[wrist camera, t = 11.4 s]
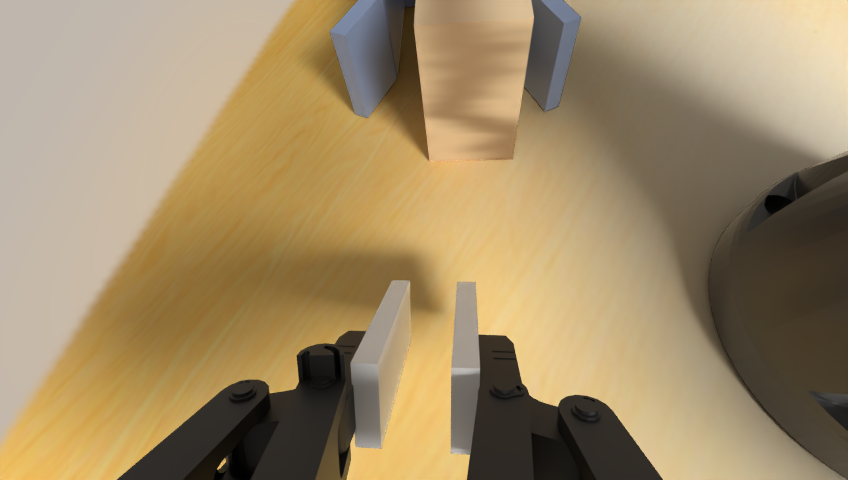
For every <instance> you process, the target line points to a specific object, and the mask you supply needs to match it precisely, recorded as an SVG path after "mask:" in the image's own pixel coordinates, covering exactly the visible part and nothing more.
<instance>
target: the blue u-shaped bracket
mask: <svg viewBox="0 0 848 480" xmlns="http://www.w3.org/2000/svg"><path fill="white" fill-rule="evenodd" d="M415 1H416V0H358V1H357V2H356V3H355V5H354V6H353V7H352V8H351V9H350V10H349V11H348V12H347V13H346V14H345V15H344V17H343V18H342V19H341V20H340V21H339V22H338V23H337V24H336V25H335V26H334V27H333V29H332V30H331V31H330V34H331V37H332V41H333V44H334V47H335V50H336V54H337V57H338V60H339V63H340V67H341V70H342V73H343V76H344V80H345V83H346V86H347V89H348V93H349V96H350V99H351V102H352V106H353V109H354V112H355V114H357V115H360V116H363V117H366V118H368V117H369V116H370V115H371V113H372V112H373V111H374V109H375V108H376V107H377V105H378V104H379V103H380V101H381V100H382V99H383V97H384V96H385V94H386V93H387V92H388V90H389V89H390V88H391V86H392V85H393V84H394V82H395V81H396V80H397V78H398V69H399V59H400V49H401V39H402V29H403V19H404V9H405V7H410V6H415ZM531 1H532V8H533V14H534V22H533V28H532V35H531V42H530V48H529V55H528V61H527V68H526V75H525V81H524V87H525V88H526V89H527V91H528V92H529V93H530V94H531V96H532V97H533V98H534V99H535V100H536V102H537V103H538V104H539V105H540V107H541V108H542V109H543V110H544V111H548V110H550V109H553V108H556V107H558V106H559V102H560V98H561V95H562V91H563V87H564V83H565V79H566V75H567V71H568V67H569V63H570V59H571V55H572V52H573V48H574V44H575V40H576V36H577V32H578V28H579V24H580V20H581V16H579V15H578V14H577V13H576V12H575V11H574V10H573V9H572V8H571V7H570V6H569V5H568V4H567V3H566V2H565V1H563V0H531Z"/></svg>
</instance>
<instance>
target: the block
mask: <svg viewBox="0 0 848 480" xmlns="http://www.w3.org/2000/svg"><path fill="white" fill-rule="evenodd" d="M533 22H534V14H533V8H532V1H531V0H416V1H415V15H414V31H415V40H416V49H417V57H418V66H419V75H420V83H421V92H422V100H423V109H424V118H425V126H426V135H427V144H428V152H429V161H430V162H439V161H471V160H503V159H513V154H514V147H515V140H516V134H517V127H518V121H519V114H520V107H521V101H522V94H523V88H524V81H525V75H526V68H527V61H528V55H529V48H530V42H531V35H532V28H533Z"/></svg>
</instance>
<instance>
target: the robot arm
mask: <svg viewBox="0 0 848 480" xmlns="http://www.w3.org/2000/svg"><path fill="white" fill-rule="evenodd" d="M709 295H710V303H711V308H712V313H713V317H714V321H715V324H716V327H717V330H718V333H719V336H720V338H721V341H722V343H723V345H724V347H725V350H726V352H727V354H728V356H729V357H730V359H731V361H732V363H733V365H734V366H735V368H736V370H737V372H738V373H739V375H740V376H741V378H742V379H743V381H744V382H745V384H746V385H747V387H748V388H749V389H750V391H751V392H752V393H753V395H754V396H755V397H756V399H757V400H758V401H759V402H760V403H761V405H762V406H763V407H764V408H765V409H766V410H767V412H768V413H769V414H770V415H771V416H772V417H773V418H774V419H775V420H776V421H777V422H778V423H779V425H780V426H781V427H782V428H783V429H785V430H786V431H787V432H788V433H789V434H790V435H791V436H792V437H793V438H794V439H795V440H796V441H797V442H799V443H800V444H801V445H802V446H803V447H804V448H806V449H807V450H808V451H809V452H810V453H812V454H813V455H814V456H815V457H817V458H818V459H819V460H821V461H822V462H823V463H824V464H826V465H827V466H829V467H830V468H832V469H833V470H834V471H836V472H837V473H839V474H840V475H842V476H843V477H845V478H846V479H848V151H847V152H844V153H842V154H839V155H837V156H835V157H832V158H830V159H827V160H825V161H823V162H820V163H818V164H816V165H813V166H811V167H808V168H806V169H804V170H801V171H799V172H796V173H794V174H792V175H790V176H788V177H786V178H784V179H782V180H781V181H779V182H777V183H776V184H774V185H773V186H771V187H770V188H768V189H767V190H766V191H764V192H763V193H762V194H760V195H759V196H758V197H757V198H756V199H755V200H754V201H753V202H752V203H751V204H750V205H749V206H747V207H746V208H745V209H744V210H743V211H742V212H741V213H740V214H739V215H738V216H737V217H736V218H735V219H734V220H733V221H732V222H731V223H730V224H729V225H728V226H727V228H726V229H725V231H724V232H723V233H722V235H721V237H720V239H719V241H718V243H717V245H716V247H715V250H714V253H713V256H712V260H711V265H710V272H709ZM410 341H411V306H410V281H408V280H392V282H391V284H390V286H389V288H388V290H387V292H386V294H385V296H384V298H383V300H382V302H381V304H380V306H379V307H378V309H377V311H376V313H375V315H374V317H373V319H372V321H371V323H370V325H369V327H368V329H367V331H348V332H346V333H345V334H343V335H342V336H340V337H339V338H338V340H337V342H336V343H335V344H326V343H325V344H316V345H313V346H310V347H307V348H305V349H303V350H302V351H300V352H299V353H298V355H297V364H298V374H299V383H298V385H297V387H296V389H294V390H289V391H284V392H277V393H271V394H270V393H269V386H268V385H267V384H266V383H265V382H263V381H260V380H245V381H244V380H243V381H239V382H237V383H235V384H232V385H230V386H228V387H227V388H225V389H224V390H222V391H221V392H220V393H219V394H217V395H216V396H215V397H214V398H213V399H211V400H210V401H209V402H208V403H207V404H206V405H204V406H203V407H202V408H201V409H200V410H198V411H197V412H196V413H195V414H194V415H193V416H191V417H190V418H189V419H188V420H187V421H186V422H184V423H183V424H182V425H181V426H180V427H178V428H177V429H176V430H175V431H174V432H173V433H171V434H170V435H169V436H168V437H167V438H165V439H164V440H163V441H162V442H161V443H160V444H158V445H157V446H156V447H155V448H154V449H153V450H151V451H150V452H149V453H148V454H147V455H145V456H144V457H143V458H142V459H141V460H140V461H138V462H137V463H136V464H135V465H134V466H132V467H131V468H130V469H129V470H128V471H127V472H125V473H124V474H123V475H122V476H121V477H119V478H118V479H117V480H346V479H347V474H348V470H349V465H350V461H351V450H350V443H351V440H352V437H353V435H354V432H355V445H356V447H365V448H379V449H381V448H382V444H383V441H384V437H385V433H386V430H387V426H388V422H389V419H390V415H391V411H392V407H393V404H394V400H395V396H396V393H397V389H398V385H399V382H400V378H401V374H402V371H403V367H404V363H405V360H406V356H407V352H408V349H409V345H410ZM451 453H453V454H468V455H470V461H469V468H468V476H467V480H663V479H662V478H661V476H660V475H659V474H658V472H657V471H656V470H655V468H654V467H653V465H652V464H651V463H650V461H649V460H648V459H647V457H646V456H645V454H644V453H643V452H642V450H641V449H640V448H639V446H638V445H637V444H636V442H635V441H634V439H633V438H632V437H631V435H630V434H629V433H628V431H627V430H626V429H625V427H624V426H623V424H622V423H621V422H620V420H619V419H618V418H617V416H616V415H615V413H614V412H613V411H612V410H611V409H610V408H609V407H608V406H607V405H606V404H605V403H603V402H601V401H599V400H597V399H595V398H592V397H589V396H582V395H573V396H567V397H565V398H564V399H562V400H561V401H560V403H559V405H558V407H556V406H553V405H549V404H546V403H543V402H540V401H538V400H536V399H534V398H532V397H531V396H530V395H529V393H528V390H527V388H526V387H525V386H524V385H523V384H522V381H521V377H520V372H519V368H518V363H517V358H516V354H515V349H514V344H513V343H512V342H511V341H510V340H509V339H508V338H507V337H506V336H499V335H478V320H477V301H476V282H457V294H456V308H455V323H454V338H453V353H452V367H451ZM224 458H225V459H226V463H225V464H224V465H223V466H222V467H221V468H220V469H219V470H217V468H218V466H219V465H220V463H221V462H222V461H223V459H224Z"/></svg>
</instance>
